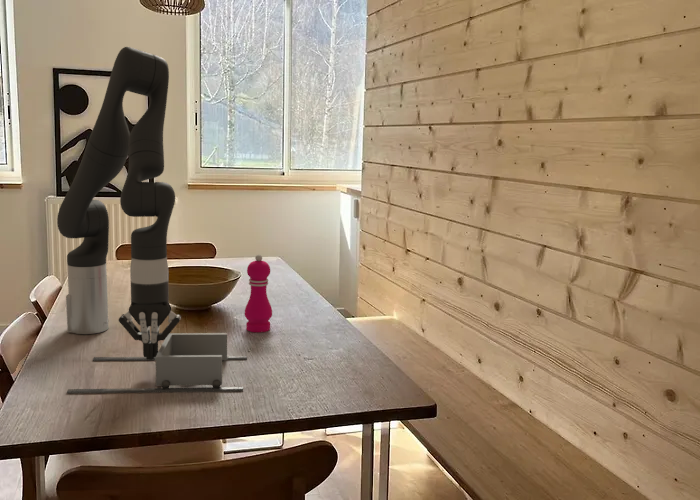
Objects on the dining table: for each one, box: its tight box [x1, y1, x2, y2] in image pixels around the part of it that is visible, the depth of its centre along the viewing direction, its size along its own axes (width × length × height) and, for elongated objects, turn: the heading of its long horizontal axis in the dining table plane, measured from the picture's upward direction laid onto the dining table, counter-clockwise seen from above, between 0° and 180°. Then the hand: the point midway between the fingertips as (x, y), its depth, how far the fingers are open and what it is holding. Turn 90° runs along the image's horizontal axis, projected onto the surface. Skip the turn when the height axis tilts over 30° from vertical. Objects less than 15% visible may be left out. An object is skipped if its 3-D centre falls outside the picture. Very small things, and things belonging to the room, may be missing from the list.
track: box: [66, 355, 248, 394], centre depth 143 cm, size 34×20×1 cm, turn 96°
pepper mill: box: [244, 254, 273, 333], centre depth 176 cm, size 7×7×20 cm
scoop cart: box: [154, 332, 228, 388], centre depth 143 cm, size 13×18×6 cm
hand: (151, 358), depth 142 cm, fingers closed
